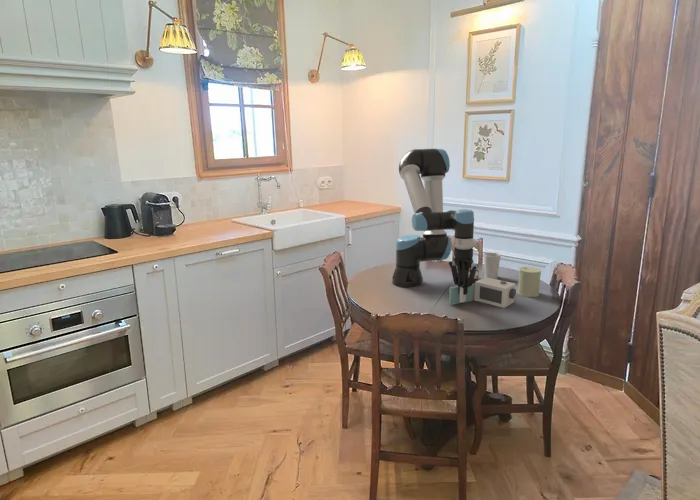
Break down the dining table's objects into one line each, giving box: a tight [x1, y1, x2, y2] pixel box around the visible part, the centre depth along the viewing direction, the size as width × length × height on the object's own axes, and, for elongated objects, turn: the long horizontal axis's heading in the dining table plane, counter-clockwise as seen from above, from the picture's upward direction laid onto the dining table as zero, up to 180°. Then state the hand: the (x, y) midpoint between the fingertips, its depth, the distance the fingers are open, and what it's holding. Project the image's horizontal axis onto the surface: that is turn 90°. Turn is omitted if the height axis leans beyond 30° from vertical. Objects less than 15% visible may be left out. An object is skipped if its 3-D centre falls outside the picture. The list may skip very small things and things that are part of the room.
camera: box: [468, 266, 482, 284], centre depth 217 cm, size 15×8×10 cm, turn 165°
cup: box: [483, 252, 501, 280], centre depth 230 cm, size 8×8×12 cm
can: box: [517, 266, 542, 298], centre depth 206 cm, size 9×9×12 cm
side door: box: [448, 284, 475, 306], centre depth 198 cm, size 12×2×8 cm, turn 111°
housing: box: [474, 276, 517, 309], centre depth 198 cm, size 15×9×9 cm, turn 46°
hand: (462, 301), depth 194 cm, fingers closed
